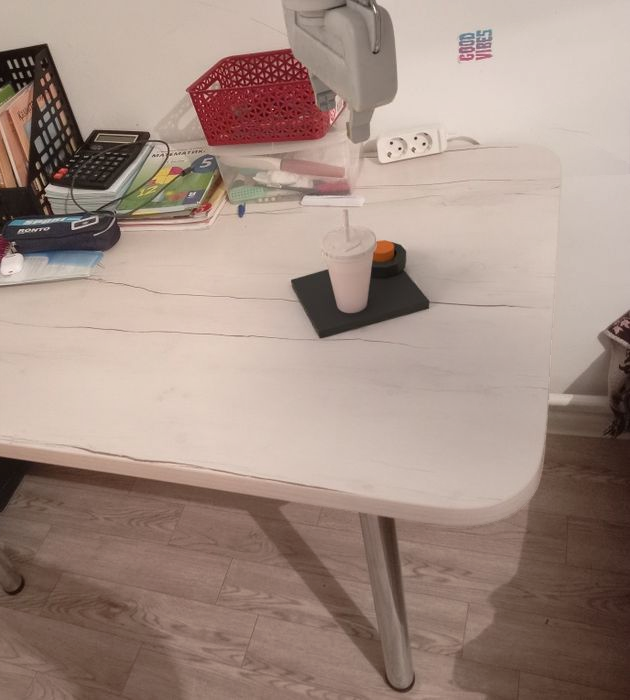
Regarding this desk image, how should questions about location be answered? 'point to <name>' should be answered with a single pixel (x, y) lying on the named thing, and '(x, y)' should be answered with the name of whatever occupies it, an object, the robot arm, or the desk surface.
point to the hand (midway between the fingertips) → (341, 123)
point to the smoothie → (349, 264)
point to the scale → (383, 300)
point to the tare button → (383, 251)
